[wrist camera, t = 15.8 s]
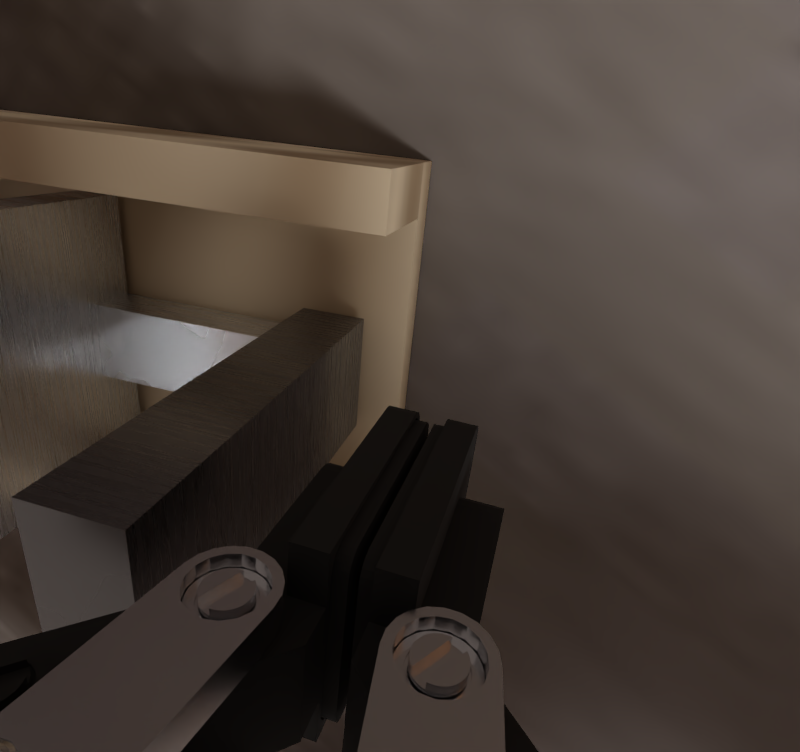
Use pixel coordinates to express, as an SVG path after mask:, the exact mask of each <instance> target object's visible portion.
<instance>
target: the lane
mask: <svg viewBox="0 0 800 752" xmlns="http://www.w3.org/2000/svg"><path fill="white" fill-rule="evenodd" d="M431 164H432V161H428V160H419V159H411V158H402V157H394V156H386V155H377V154H369V153H360V152H352V151H344V150H335V149H327V148H318V147H310V146H302V145H293V144H285V143H276V142H268V141H260V140H251V139H243V138H234V137H226V136H218V135H209V134H201V133H192V132H184V131H176V130H167V129H159V128H150V127H142V126H134V125H125V124H117V123H108V122H100V121H92V120H83V119H75V118H66V117H58V116H50V115H41V114H33V113H24V112H16V111H8V110H0V199H4V198H12V197H21V196H30V195H38V194H47V193H56V192H64V191H73V190H81V191H88V192H94V193H101V194H108V195H114V196H117V201H118V210H119V220H120V229H121V238H122V247H123V257H124V266H125V275H126V284H127V293H130V294H136V295H141V296H146V297H151V298H157V299H162V300H167V301H172V302H178V303H183V304H188V305H193V306H199V307H204V308H209V309H214V310H220V311H225V312H230V313H235V314H241V315H246V316H251V317H256V318H261V319H267V320H272V321H277V322H282V321H284V320H285V319H287V318H288V317H290V316H292V315H293V314H295V313H296V312H298V311H299V310H301V309H302V308H308V309H314V310H319V311H325V312H330V313H335V314H341V315H346V316H352V317H357V318H363V319H364V326H363V340H362V354H361V368H360V383H359V397H358V411H357V425H356V427H355V428H354V429H353V431H352V432H351V433H350V435H349V436H348V437H347V439H346V440H345V442H344V443H343V444H342V446H341V447H340V448H339V450H338V451H337V452H336V454H335V455H334V456H333V458H332V459H331V460H330V462H329V463H333V464H336V465H340V466H344V465H345V464H346V463H347V461H348V460H349V459H350V457H351V456H352V454H353V453H354V452H355V450H356V449H357V448H358V446H359V445H360V444H361V442H362V441H363V440H364V438H365V437H366V435H367V434H368V433H369V431H370V430H371V429H372V427H373V426H374V425H375V423H376V422H377V421H378V419H379V418H380V416H381V415H382V414H383V412H384V411H385V410H386V408H387V407H388V406H394V407H398V408H402V409H405V402H406V392H407V383H408V374H409V365H410V356H411V347H412V338H413V328H414V319H415V310H416V301H417V292H418V283H419V274H420V264H421V255H422V246H423V237H424V228H425V219H426V210H427V200H428V191H429V182H430V173H431ZM137 386H138V395H139V405H140V413H142V412H143V411H145V410H146V409H148V408H150V407H151V406H153V405H154V404H156V403H157V402H159V401H160V400H162V399H163V398H165V397H167V396H168V395H170V394H171V393H173V391H169V390H164V389H160V388H155V387H151V386H147V385H142V384H138V383H137Z"/></svg>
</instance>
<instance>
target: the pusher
mask: <svg viewBox="0 0 800 752" xmlns="http://www.w3.org/2000/svg"><path fill="white" fill-rule="evenodd" d="M363 326H364V319H363V318H357V317H352V316H346V315H341V314H335V313H330V312H325V311H319V310H314V309H308V308H302V309H301V310H299V311H298V312H296V313H295V314H293V315H292V316H290V317H288V318H287V319H285V320H284V321H282V322H277V321H272V320H267V319H261V318H256V317H251V316H246V315H241V314H235V313H230V312H225V311H220V310H214V309H209V308H204V307H199V306H193V305H188V304H183V303H178V302H172V301H167V300H162V299H157V298H151V297H146V296H141V295H136V294H130V293H127V284H126V275H125V266H124V257H123V247H122V238H121V229H120V220H119V210H118V201H117V196H114V195H108V194H101V193H94V192H88V191H81V190H73V191H64V192H56V193H47V194H38V195H30V196H21V197H12V198H4V199H0V539H1V538H3V537H4V536H5V535H7V534H8V533H10V532H11V531H12V530H14V529H15V528H17V527H18V530H19V534H20V538H21V543H22V547H23V551H24V556H25V560H26V564H27V569H28V573H29V577H30V582H31V586H32V590H33V595H34V599H35V603H36V608H37V612H38V616H39V621H40V625H41V629H42V632H46V631H49V630H53V629H57V628H60V627H64V626H68V625H71V624H75V623H79V622H82V621H86V620H90V619H93V618H97V617H101V616H104V615H108V614H112V613H115V612H119V611H123V610H126V609H128V608H129V607H130V606H131V605H133V604H134V603H135V602H136V601H138V600H139V599H140V598H141V597H143V596H144V595H145V594H146V593H147V592H149V591H150V590H151V589H152V588H154V587H155V586H156V585H157V584H159V583H160V582H161V581H162V580H163V579H165V578H166V577H167V576H168V575H170V574H171V573H172V572H173V571H175V570H176V569H177V568H178V567H179V566H181V565H182V564H183V563H185V562H186V561H188V560H189V559H191V558H193V557H194V556H196V555H197V554H200V553H202V552H205V551H208V550H211V549H214V548H219V547H226V546H243V547H250V548H254V549H257V548H258V547H259V545H260V544H261V543H262V542H263V540H264V539H265V538H266V537H267V535H268V534H269V533H270V532H271V530H272V529H273V528H274V527H275V525H276V524H277V523H278V522H279V521H280V519H281V518H282V517H283V516H284V514H285V513H286V512H287V511H288V509H289V508H290V507H291V506H292V504H293V503H294V502H295V501H296V499H297V498H298V497H299V496H300V494H301V493H302V492H303V491H304V489H305V488H306V487H307V486H308V484H309V483H310V482H311V481H312V479H313V478H314V477H315V476H316V474H317V473H318V472H319V471H320V469H321V468H322V467H323V466H324V465H325V464H326V463H329V462H330V460H331V459H332V458H333V456H334V455H335V454H336V452H337V451H338V450H339V448H340V447H341V446H342V444H343V443H344V442H345V440H346V439H347V437H348V436H349V435H350V433H351V432H352V431H353V429H354V428H355V427H356V425H357V411H358V397H359V383H360V368H361V354H362V340H363ZM137 383H138V384H142V385H147V386H151V387H155V388H160V389H164V390H169V391H173V393H171V394H170V395H168V396H167V397H165V398H163V399H162V400H160V401H159V402H157V403H156V404H154V405H153V406H151V407H150V408H148V409H146V410H145V411H143V412H142V413H140V405H139V395H138V386H137Z"/></svg>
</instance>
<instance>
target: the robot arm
mask: <svg viewBox="0 0 800 752" xmlns="http://www.w3.org/2000/svg"><path fill="white" fill-rule="evenodd" d="M419 420H420V415H419V412H415V411H411V410H406V409H402V408H398V407H394V406H388V407H387V408H386V410H385V411H384V412H383V414H382V415H381V416H380V418H379V419H378V421H377V422H376V423H375V425H374V426H373V427H372V429H371V430H370V431H369V433H368V434H367V435H366V437H365V438H364V440H363V441H362V442H361V444H360V445H359V446H358V448H357V449H356V450H355V452H354V453H353V454H352V456H351V457H350V459H349V460H348V461H347V463H346V464H345V465H344V466H340V465H336V464H333V463H326V464H325V465H324V466H323V467H322V468H321V469H320V471H319V472H318V473H317V474H316V476H315V477H314V478H313V479H312V481H311V482H310V483H309V484H308V486H307V487H306V488H305V489H304V491H303V492H302V493H301V494H300V496H299V497H298V498H297V499H296V501H295V502H294V503H293V504H292V506H291V507H290V508H289V509H288V511H287V512H286V513H285V514H284V516H283V517H282V518H281V519H280V521H279V522H278V523H277V524H276V525H275V527H274V528H273V529H272V530H271V532H270V533H269V534H268V535H267V537H266V538H265V539H264V540H263V542H262V543H261V544H260V545H259V547H258V548H257V549H254V548H250V547H243V546H226V547H219V548H214V549H211V550H208V551H205V552H202V553H200V554H197V555H196V556H194V557H193V558H191V559H189V560H188V561H186V562H185V563H183V564H182V565H181V566H179V567H178V568H177V569H176V570H175V571H173V572H172V573H171V574H170V575H168V576H167V577H166V578H165V579H163V580H162V581H161V582H160V583H159V584H157V585H156V586H155V587H154V588H152V589H151V590H150V591H149V592H147V593H146V594H145V595H144V596H143V597H141V598H140V599H139V600H138V601H136V602H135V603H134V604H133V605H131V606H130V607H129V608H128V609H126V610H123V611H119V612H115V613H112V614H108V615H104V616H101V617H97V618H93V619H90V620H86V621H82V622H79V623H75V624H71V625H68V626H64V627H60V628H57V629H53V630H49V631H46V632H42V633H38V634H35V635H31V636H28V637H24V638H20V639H17V640H13V641H9V642H6V643H2V644H0V752H278V751H280V750H282V749H284V748H287V747H289V746H291V745H294V744H296V743H298V742H300V741H301V739H302V737H304V738H307V739H309V740H312V741H315V742H316V741H317V739H318V737H319V735H320V732H321V730H322V728H323V726H324V723H325V721H326V719H328V720H331V721H334V722H336V723H337V722H338V721H339V719H340V718H341V715H342V713H343V711H344V709H345V706H346V714H345V729H344V739H343V748H342V752H538V751H537V749H536V748H535V746H534V745H533V744H532V742H531V741H530V739H529V738H528V737H527V735H526V734H525V732H524V731H523V730H522V728H521V727H520V725H519V724H518V723H517V721H516V720H515V718H514V717H513V716H512V714H511V713H510V712H509V710H508V709H507V707H506V706H505V705H504V691H503V666H502V661H501V656H500V651H499V649H498V647H497V645H496V644H495V642H494V640H493V638H492V637H491V635H490V634H489V633H488V632H487V631H486V630H485V629H484V628H483V627H482V626H481V625H480V620H481V615H482V610H483V606H484V601H485V596H486V592H487V587H488V582H489V578H490V573H491V568H492V564H493V559H494V554H495V550H496V545H497V541H498V536H499V531H500V527H501V522H502V517H503V513H504V509H503V508H499V507H496V506H492V505H488V504H484V503H480V502H477V501H473V500H469V499H465V498H466V492H467V487H468V482H469V476H470V471H471V466H472V460H473V455H474V450H475V444H476V439H477V433H478V426H475V425H471V424H466V423H462V422H458V421H454V420H449V419H448V420H447V421H446V423H445V426H440V425H436V424H434V426H433V428H432V429H431V431H430V433H429V435H428V428H429V424H428V423H427V422H423V421H419ZM427 436H428V437H427Z"/></svg>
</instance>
